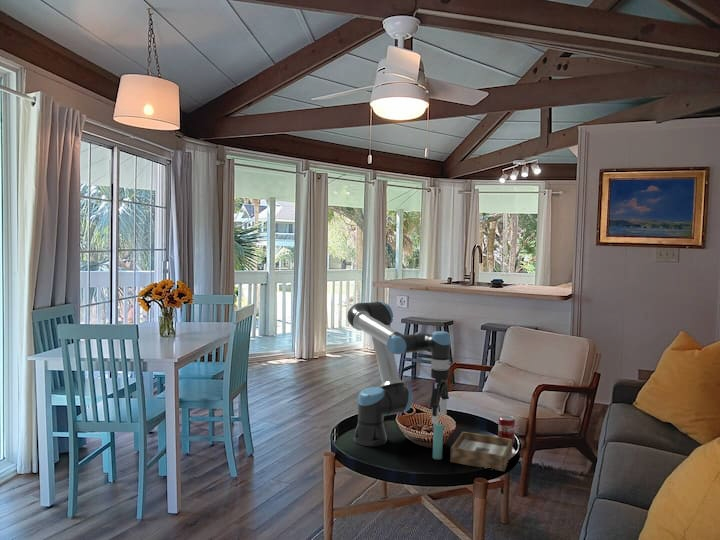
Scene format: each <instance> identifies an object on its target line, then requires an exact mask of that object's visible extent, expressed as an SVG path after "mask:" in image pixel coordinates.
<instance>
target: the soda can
mask: <svg viewBox="0 0 720 540" xmlns="http://www.w3.org/2000/svg"><path fill="white" fill-rule="evenodd" d="M497 426H498V428H497V431H498V432H497V437H501V438H508V439H512V447H513V446H514V445H515V437H516V435H515V434H516V431H515V430H516V419H515V418H514V417H513V416H511V415H500V416H499V417H498V425H497Z"/></svg>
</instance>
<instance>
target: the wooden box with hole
mask: <svg viewBox="0 0 720 540" xmlns="http://www.w3.org/2000/svg"><path fill="white" fill-rule="evenodd" d="M512 454H513V446H512V439H508V438H501V437H498V436H494V435H487V434H481V433H474V432H468V431H461V433H460V434H459V435H458V437H457V438H456V440H455V441H454V443H453V444H452V445H451V446H450V459H449V462H450V463H455V464H461V465H465V466H472V467H477V468H482V467H484V468H483V469H487V468H492V469H491V470H493V469H495V470H494V471H499V472H505V471H506V469H507V467H508V464H509V461H510V459H509V458H511V456H512ZM508 460H509V461H508ZM507 463H508V464H507Z"/></svg>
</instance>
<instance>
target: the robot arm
mask: <svg viewBox="0 0 720 540" xmlns="http://www.w3.org/2000/svg"><path fill="white" fill-rule="evenodd" d="M346 315H347V318H346V319H347V322H348V324H349V325H350V326H351V327H352V328H353V329H355V330H357V331H363V332H364V333H366V334H368V335H369V336H370V337H371V338H372V339H371V340H372V345H373V349H374V352H375V357H376V361H377V367H378V370H379V375H380V379H381V385H380V386H379V387H377V386H372V387H367V388H363V389H362V390H360V392H359V393H358V398H357V403H358V404H357V408H358V409H357V425H356V428H355V430H354V434H353V441H354V443H356V444H358V445H359V446H363V447H379V446H382V445H383V446H384V445H385V444H386V443H388V442H387V441H388V436H387V435H388V434H387V433H386V430H385V429H386V428H385V424H384V418H385V417H387V416H391V415H397V414H398V415H400V414H402V413H406V412H408V411H409V410H410V409H411V406H412V404H413V394H412V391H411V389H410V388H409V387H408V386H406V385H405V382H404V381H403V380H402V379H401V378H400V375H399V369H398V366H397V361H396V357H395V355H401V354H409V353H418V352H419V353H421V352H428V353H431V370H430V378H432V379H434V380H435V382H433V383H432V391H431V396H430V397H431V399H430V404H429V408H430V409H431V424H433V425H434V424H439V414H440V415H442V416H443V415H444V416H447V406H448V405H447V403H448V400H449V398H450V396H449V389H448V379H449V378H450V364H452V362H451V361H450V358H451V357H450V353H451V336H450V335H451V334H450V333H449V332H447V331H443V330H438V331H437V330H435V331H433V332H432V334H430V333H427V332H423V331H418V332H415V333H414V334H403V333H401V332H399V331H397V330H395V329H393V328H392V326H391V324H392V323H393V318H394V313H393V310H392V307H391V306H390V305H389V304H388V303H386V302H385V301H373V302H372V301H371V302H358V303H355V304H354V305H352V306H351V307H350V308H349V309H348V311H347V314H346Z"/></svg>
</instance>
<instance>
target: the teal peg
mask: <svg viewBox="0 0 720 540" xmlns="http://www.w3.org/2000/svg"><path fill="white" fill-rule="evenodd" d="M432 431H433V435H432V436H433V438H432V439H433V440H432V458H433V459H434V460H439V461H440V460H442V459H443V443H444V442H443V441H444V425H443V424H442V423H438V424H434V423H433V430H432Z"/></svg>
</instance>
